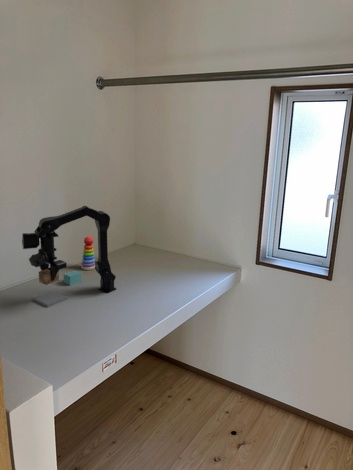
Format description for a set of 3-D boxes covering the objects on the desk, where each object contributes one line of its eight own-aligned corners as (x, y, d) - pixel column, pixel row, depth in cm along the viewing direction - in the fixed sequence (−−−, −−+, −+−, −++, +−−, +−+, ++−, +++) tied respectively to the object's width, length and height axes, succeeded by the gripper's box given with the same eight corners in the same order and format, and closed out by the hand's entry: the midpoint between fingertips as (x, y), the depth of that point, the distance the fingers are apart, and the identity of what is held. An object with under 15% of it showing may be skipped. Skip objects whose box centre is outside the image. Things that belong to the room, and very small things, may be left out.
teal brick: (81, 281, 196) (81, 272, 194) (70, 285, 190) (69, 276, 189) (75, 279, 199) (74, 270, 197) (64, 283, 193) (63, 274, 192)
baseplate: (67, 298, 176) (67, 296, 175) (47, 307, 167) (47, 304, 166) (52, 292, 181) (52, 290, 181) (32, 300, 173) (32, 297, 172)
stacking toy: (92, 271, 210) (91, 239, 205) (78, 269, 211) (78, 237, 206) (97, 266, 217) (97, 235, 212) (84, 265, 219) (84, 234, 214)
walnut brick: (58, 280, 173) (58, 270, 172) (46, 284, 168) (45, 274, 167) (52, 277, 176) (51, 267, 175) (39, 282, 171) (38, 271, 169)
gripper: (18, 246, 166) (21, 278, 171) (45, 255, 156) (46, 290, 160) (40, 240, 175) (42, 272, 179) (66, 249, 165) (67, 282, 169)
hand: (49, 279), depth 172 cm, fingers closed on walnut brick, 5 cm apart
